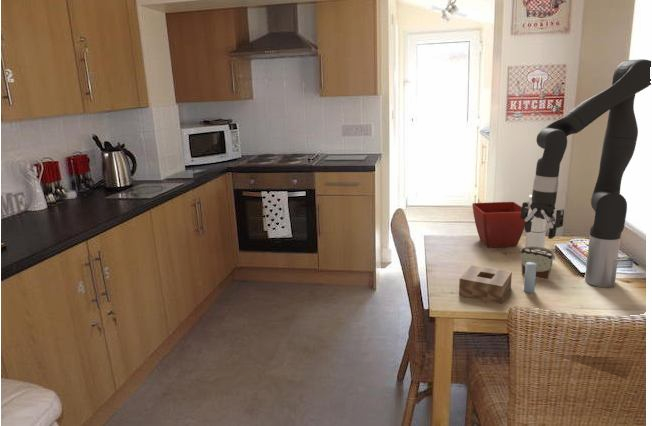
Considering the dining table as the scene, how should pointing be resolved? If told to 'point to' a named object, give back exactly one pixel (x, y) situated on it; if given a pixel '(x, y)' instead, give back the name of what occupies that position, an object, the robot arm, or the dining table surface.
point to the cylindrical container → (536, 231)
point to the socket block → (485, 283)
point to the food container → (538, 260)
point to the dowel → (530, 277)
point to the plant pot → (499, 223)
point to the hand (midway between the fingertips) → (539, 235)
